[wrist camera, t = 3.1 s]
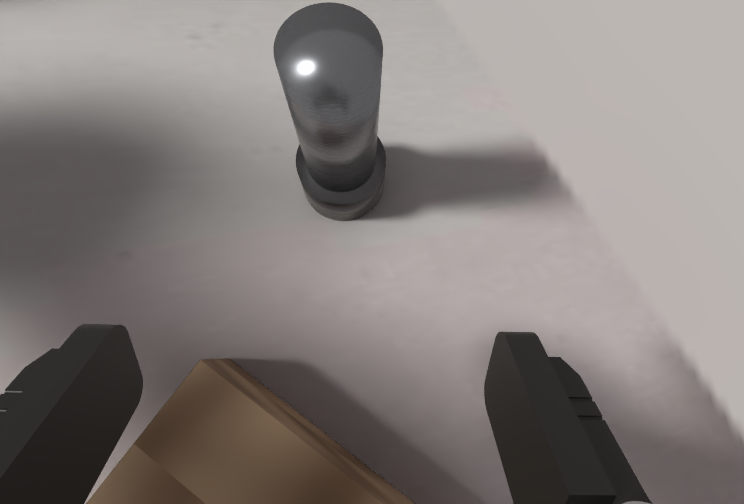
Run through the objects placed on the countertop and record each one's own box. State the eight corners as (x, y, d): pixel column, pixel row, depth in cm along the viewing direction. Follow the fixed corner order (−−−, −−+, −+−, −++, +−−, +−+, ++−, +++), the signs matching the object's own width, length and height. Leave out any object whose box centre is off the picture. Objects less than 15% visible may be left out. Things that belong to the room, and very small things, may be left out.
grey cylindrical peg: (287, 190, 24) (228, 61, 13) (335, 132, 25) (315, -33, 14) (352, 236, 24) (342, 138, 13) (398, 175, 24) (426, 36, 14)
